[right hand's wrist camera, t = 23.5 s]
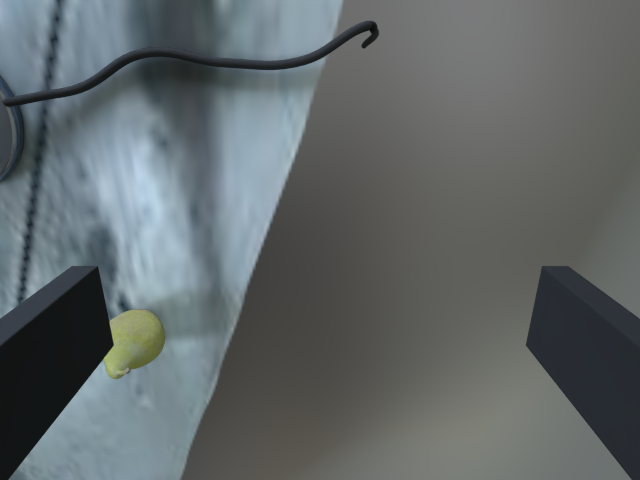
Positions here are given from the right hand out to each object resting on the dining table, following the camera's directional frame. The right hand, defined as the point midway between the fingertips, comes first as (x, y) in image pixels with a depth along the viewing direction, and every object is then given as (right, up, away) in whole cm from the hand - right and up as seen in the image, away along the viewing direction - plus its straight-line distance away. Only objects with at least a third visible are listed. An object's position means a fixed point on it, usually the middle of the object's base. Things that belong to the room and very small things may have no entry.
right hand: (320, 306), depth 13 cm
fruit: (-21, -8, +39) cm, 45 cm away
